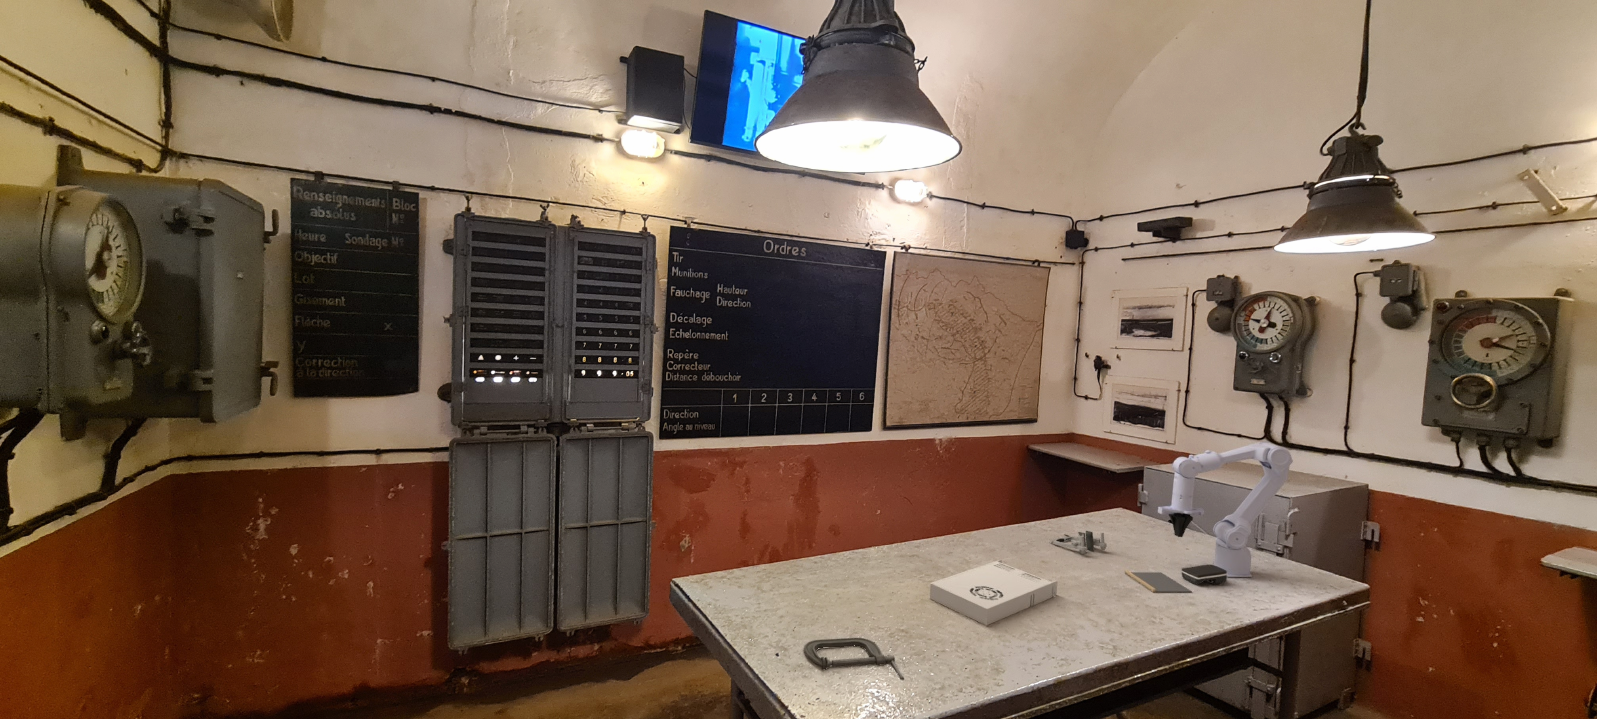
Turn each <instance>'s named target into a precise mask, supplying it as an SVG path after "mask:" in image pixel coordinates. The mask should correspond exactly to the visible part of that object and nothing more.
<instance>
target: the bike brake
mask: <svg viewBox="0 0 1597 719" xmlns="http://www.w3.org/2000/svg"><path fill="white" fill-rule="evenodd" d="M1077 533H1078V534H1077V535H1078V536H1074V535H1071V536H1070V535H1068V534H1063V536H1065V537H1062V538H1058V539H1051V540H1050V542H1049V544H1051V545H1056V546H1060V547H1066V548H1070V549H1071V548H1072V549H1074V550H1078V551H1079V552H1080V553H1081V554H1082V555H1085V554H1087V551H1089V552H1092V553H1094V552H1095V548H1094V546H1095V547H1099V548H1100V550H1101V551H1105V550H1106V549H1107V547H1108V546H1107V543H1106V542H1105V533H1104V532H1100V537H1094V534H1093V531H1090V530H1085V532H1082V531H1078V532H1077ZM1069 541H1070V542H1071V543H1070V542H1069Z"/></svg>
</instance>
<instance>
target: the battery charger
mask: <svg viewBox="0 0 1597 719" xmlns="http://www.w3.org/2000/svg"><path fill="white" fill-rule="evenodd" d="M1180 572H1181V577H1182V579H1183V580H1185V581H1187V582H1190V583H1192V584H1194V585H1200V584H1201V583H1203V582H1208V583H1210V584H1212V585H1218V584H1223V583H1225V582H1227V579H1228V577H1227V571H1226V570H1224V569H1222V568H1220V567H1217V566H1215V565H1214V564H1202V565H1195V566H1190V567H1182V568H1181V571H1180Z"/></svg>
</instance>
